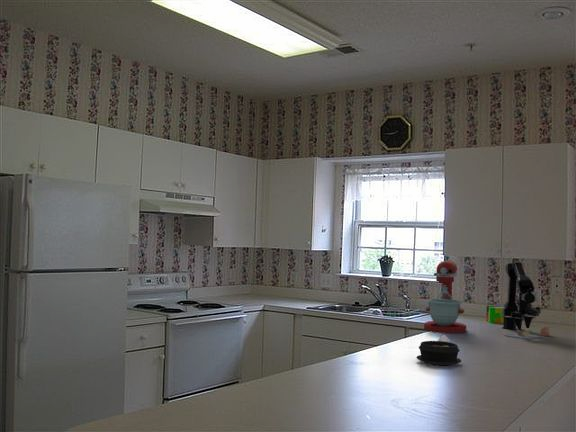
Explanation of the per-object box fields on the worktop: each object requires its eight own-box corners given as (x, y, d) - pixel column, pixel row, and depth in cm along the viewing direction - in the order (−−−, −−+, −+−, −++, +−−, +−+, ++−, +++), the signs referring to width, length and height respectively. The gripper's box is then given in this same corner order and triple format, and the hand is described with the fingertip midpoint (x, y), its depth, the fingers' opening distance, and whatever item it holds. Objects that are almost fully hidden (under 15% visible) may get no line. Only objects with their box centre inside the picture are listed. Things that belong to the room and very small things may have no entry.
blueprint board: (504, 335, 343) (504, 335, 343) (518, 333, 354) (518, 332, 354) (528, 339, 333) (528, 338, 333) (542, 337, 343) (542, 336, 343)
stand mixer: (420, 331, 349) (421, 260, 351) (427, 324, 379) (429, 259, 380) (463, 335, 341) (465, 262, 342) (468, 327, 370) (469, 261, 372)
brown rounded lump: (538, 335, 350) (539, 326, 350) (542, 334, 353) (542, 325, 353) (546, 336, 346) (547, 327, 346) (550, 335, 349) (550, 326, 349)
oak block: (517, 335, 343) (517, 328, 343) (521, 334, 347) (521, 327, 347) (525, 336, 340) (525, 329, 340) (530, 335, 343) (530, 328, 343)
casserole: (461, 371, 245) (462, 350, 246) (414, 367, 250) (414, 346, 251) (461, 360, 270) (461, 340, 270) (418, 356, 275) (418, 337, 275)
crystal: (460, 350, 273) (455, 341, 296) (446, 341, 274) (442, 333, 298) (451, 364, 273) (447, 354, 297) (437, 355, 274) (434, 345, 298)
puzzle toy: (501, 321, 405) (502, 306, 406) (505, 323, 395) (506, 308, 396) (486, 320, 406) (486, 305, 407) (489, 323, 396) (490, 307, 397)
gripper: (530, 303, 331) (529, 333, 331) (546, 302, 344) (545, 330, 343) (510, 301, 340) (510, 330, 339) (527, 300, 352) (526, 327, 352)
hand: (523, 329), depth 343 cm, fingers open, 9 cm apart
